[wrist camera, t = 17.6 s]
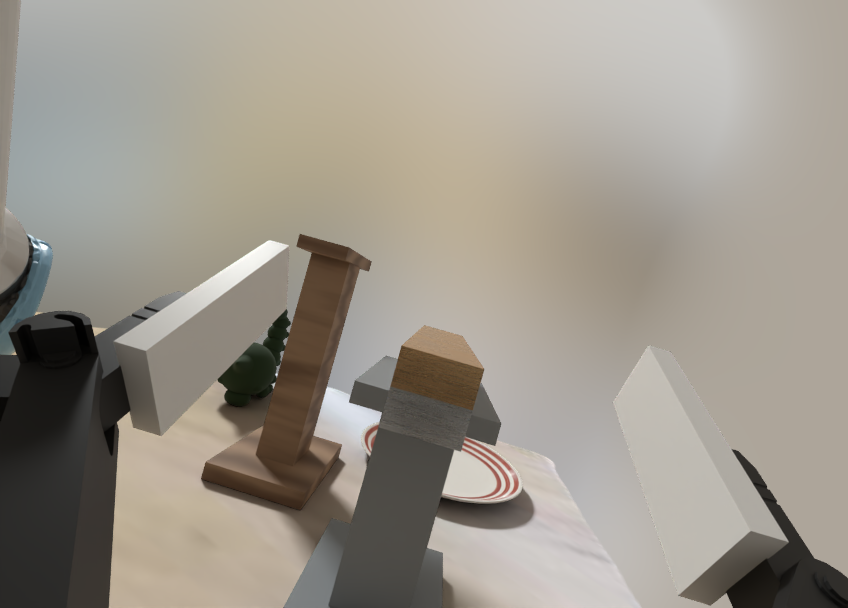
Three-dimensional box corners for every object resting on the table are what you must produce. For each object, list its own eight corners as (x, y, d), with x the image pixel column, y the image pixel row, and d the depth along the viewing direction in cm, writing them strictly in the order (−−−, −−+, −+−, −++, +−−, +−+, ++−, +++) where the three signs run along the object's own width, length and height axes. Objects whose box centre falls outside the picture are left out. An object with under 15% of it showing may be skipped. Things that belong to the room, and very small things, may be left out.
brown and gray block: (461, 451, 19) (484, 369, 18) (378, 427, 19) (401, 345, 19) (451, 373, 40) (462, 336, 40) (414, 363, 41) (424, 325, 41)
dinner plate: (519, 547, 50) (526, 522, 50) (327, 469, 56) (333, 447, 56) (517, 471, 77) (522, 455, 77) (387, 424, 83) (391, 408, 83)
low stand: (432, 740, 25) (519, 432, 25) (252, 678, 26) (336, 378, 26) (437, 571, 41) (490, 384, 41) (326, 536, 42) (378, 351, 41)
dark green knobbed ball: (241, 383, 87) (190, 407, 63) (266, 300, 89) (227, 291, 64) (284, 394, 88) (251, 420, 64) (308, 311, 90) (285, 306, 65)
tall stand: (300, 510, 45) (372, 253, 45) (201, 478, 45) (271, 225, 45) (338, 457, 61) (391, 267, 61) (264, 434, 61) (316, 247, 61)
